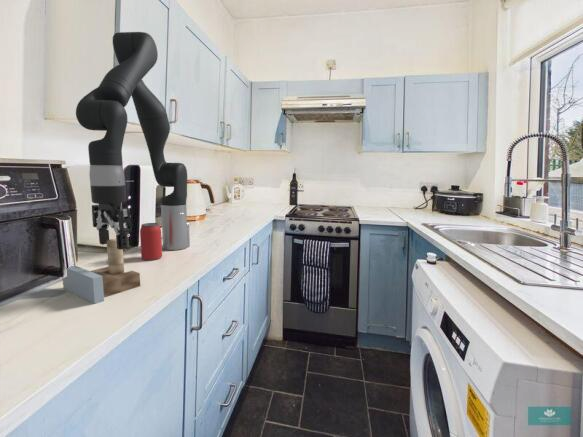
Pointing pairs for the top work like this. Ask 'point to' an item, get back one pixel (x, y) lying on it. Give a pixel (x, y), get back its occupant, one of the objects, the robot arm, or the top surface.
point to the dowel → (114, 258)
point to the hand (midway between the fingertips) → (113, 246)
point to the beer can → (151, 241)
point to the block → (118, 281)
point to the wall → (84, 284)
